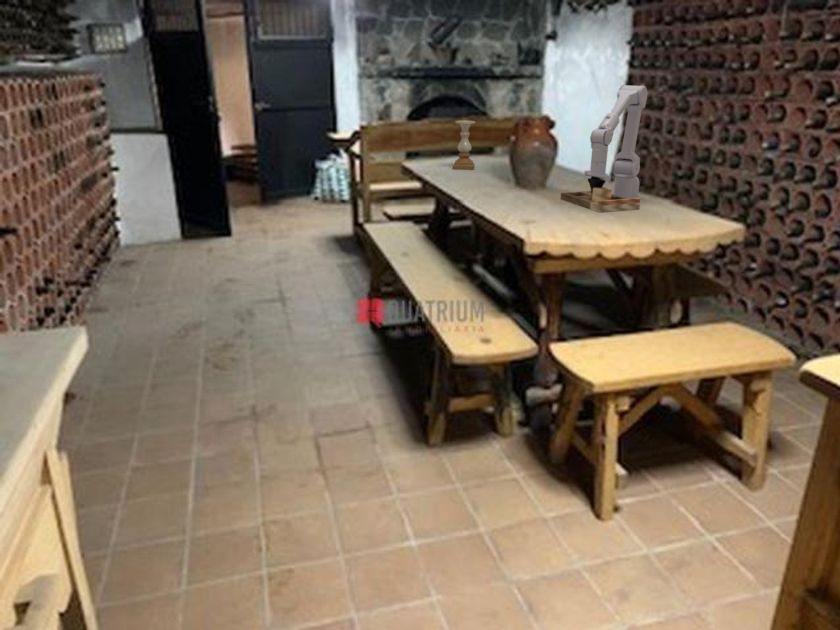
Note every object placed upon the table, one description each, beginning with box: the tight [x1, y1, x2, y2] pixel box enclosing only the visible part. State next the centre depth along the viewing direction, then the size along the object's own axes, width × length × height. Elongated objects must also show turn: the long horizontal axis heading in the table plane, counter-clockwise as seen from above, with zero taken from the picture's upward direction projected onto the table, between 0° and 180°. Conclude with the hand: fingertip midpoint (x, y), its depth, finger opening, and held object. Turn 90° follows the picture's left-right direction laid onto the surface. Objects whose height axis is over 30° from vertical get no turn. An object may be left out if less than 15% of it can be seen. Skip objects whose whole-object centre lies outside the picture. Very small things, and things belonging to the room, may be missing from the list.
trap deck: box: [560, 190, 641, 213], centre depth 257 cm, size 18×27×4 cm, turn 20°
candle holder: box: [452, 119, 476, 171], centre depth 340 cm, size 11×11×24 cm
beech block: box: [592, 186, 613, 203], centre depth 249 cm, size 5×5×5 cm
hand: (595, 197), depth 253 cm, fingers closed
